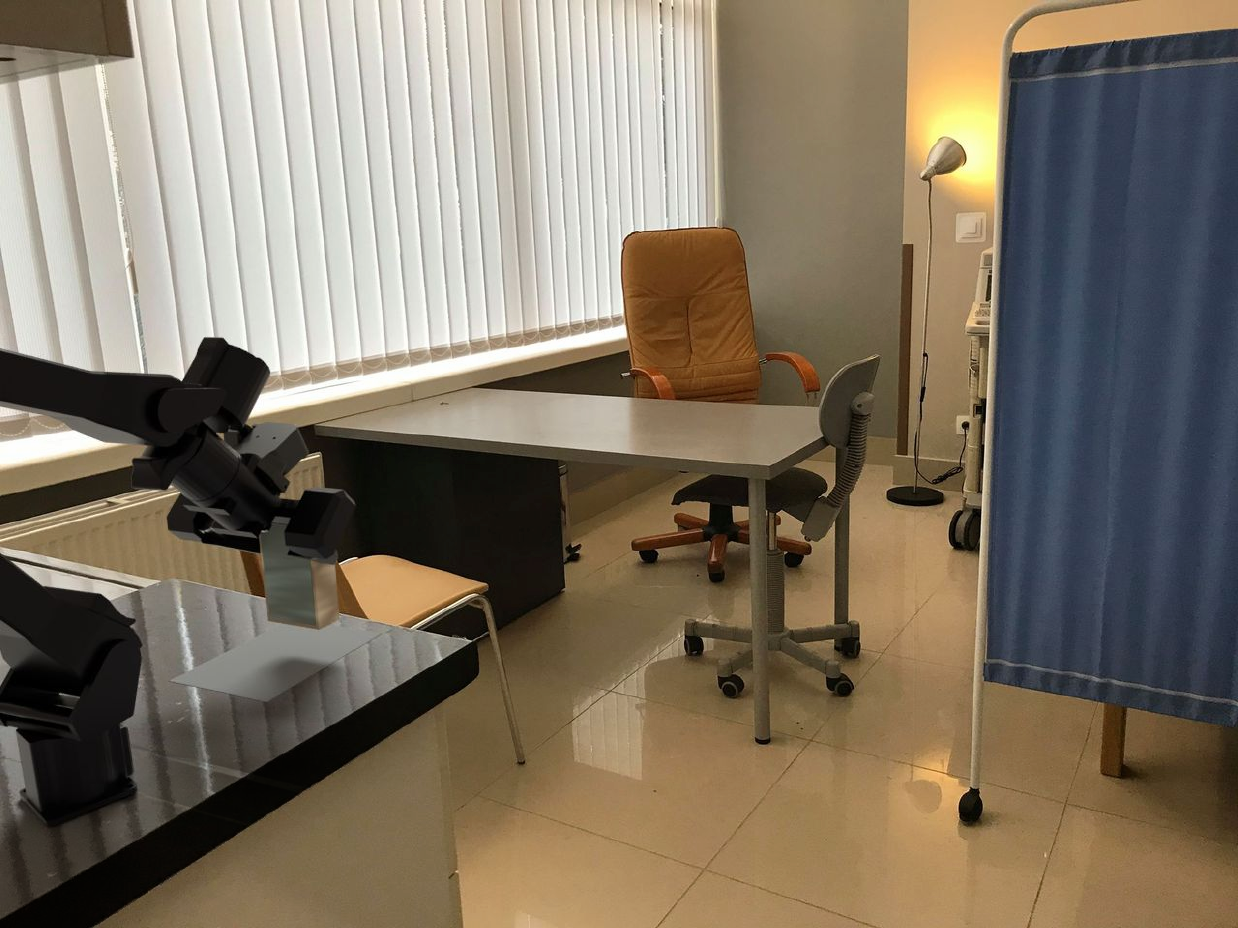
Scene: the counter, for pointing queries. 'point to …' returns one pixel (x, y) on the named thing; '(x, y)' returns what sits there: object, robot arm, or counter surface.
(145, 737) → the counter surface
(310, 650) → the mat
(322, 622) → the tile
